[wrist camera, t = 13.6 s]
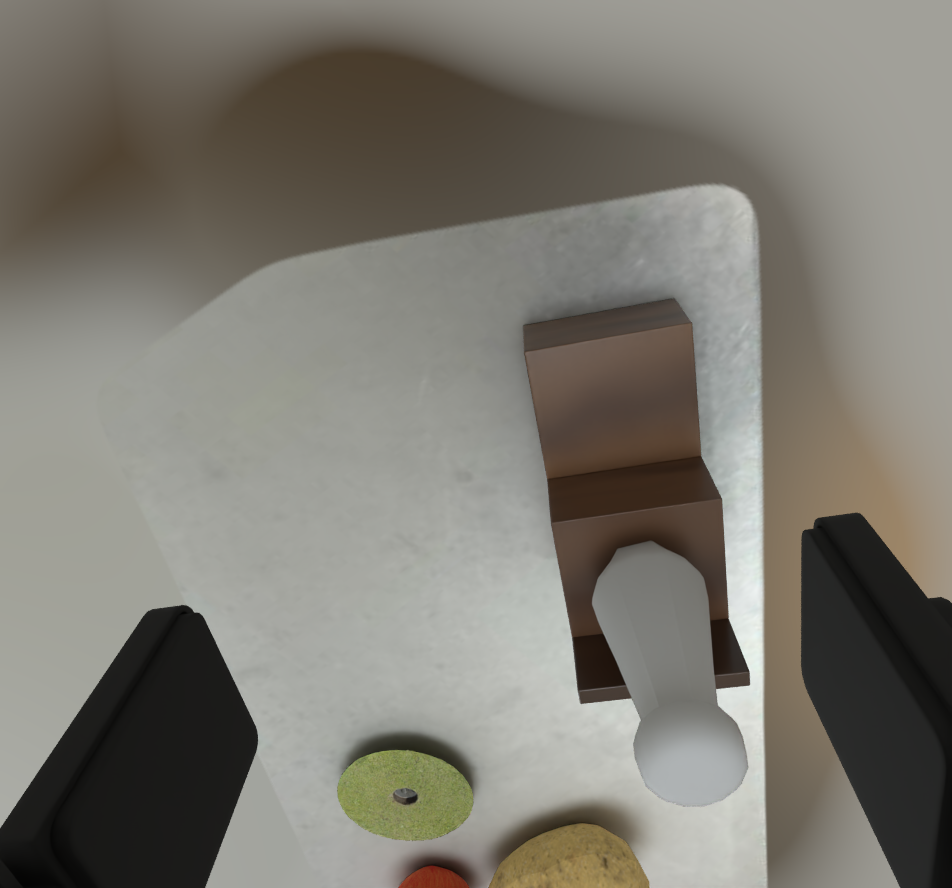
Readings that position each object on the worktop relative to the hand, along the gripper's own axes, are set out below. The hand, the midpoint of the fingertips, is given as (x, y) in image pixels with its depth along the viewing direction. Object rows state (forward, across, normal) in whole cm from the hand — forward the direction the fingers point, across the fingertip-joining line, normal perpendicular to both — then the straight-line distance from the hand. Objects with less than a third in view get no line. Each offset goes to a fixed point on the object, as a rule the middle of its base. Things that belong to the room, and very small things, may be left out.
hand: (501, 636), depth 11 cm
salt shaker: (+24, -4, +18) cm, 30 cm away
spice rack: (+32, -4, +14) cm, 35 cm away
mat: (+32, +16, +43) cm, 56 cm away
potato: (+32, +5, +53) cm, 62 cm away
